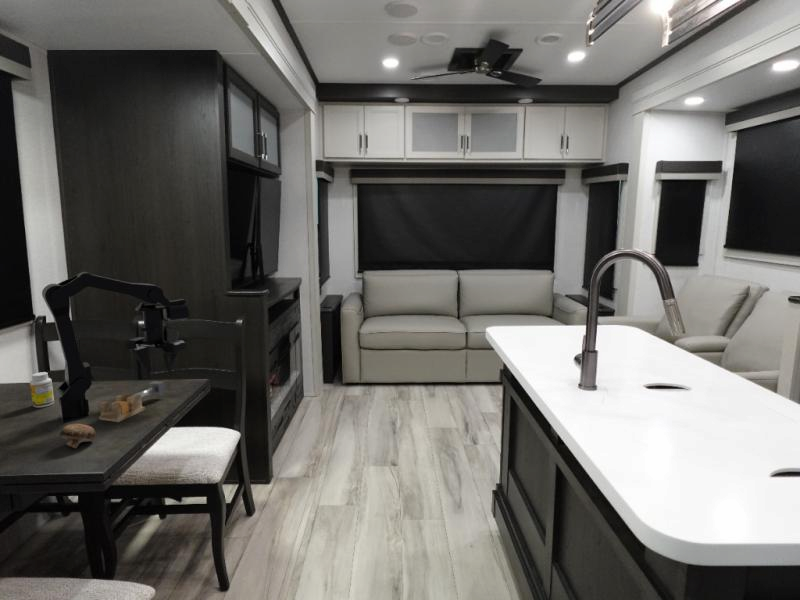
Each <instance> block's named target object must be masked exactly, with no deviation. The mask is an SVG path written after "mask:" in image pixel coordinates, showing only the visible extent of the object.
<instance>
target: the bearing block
mask: <svg viewBox="0 0 800 600" xmlns="http://www.w3.org/2000/svg"><path fill="white" fill-rule="evenodd" d="M132 395H133V396H132ZM132 395H131V393H130V392H124V393H121V394H119V395H116V396H115V397H114V398H115V402H116V401H125V402H129V412H127V413H124V414H121V405H120V403H114V404H111V403H110V401H105V400H103V401H101V402H99V408H100V415H99V416H98V419H99V420H101V421H109V422H115V423H120V422H122V421H124V420H126V419H128V418H130V417H132V416H135V415H137V414H139V413H141V412H143V411H145V410H146V408H145V407H146V406H143V401H142V399H143V398H141V394H137V393H135V395H134V394H132ZM130 396H131V397H130ZM111 405H112V409H111V410H110V406H111Z"/></svg>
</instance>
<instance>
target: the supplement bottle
mask: <svg viewBox="0 0 800 600" xmlns="http://www.w3.org/2000/svg"><path fill="white" fill-rule="evenodd" d="M31 379H32V380H31V381H30V382H29V386H30V393H31V395H30V396H31V403H32V406H33V407H34V408H36V409H37V408H46V407H49V406H51V405H53V404H54V403H55V399H54V389H53V382H52V381H53V380H52V378H50V377H49V375H48V372H46V371H43V372H41V371H40V372H35V373H33V374H32V375H31Z"/></svg>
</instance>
